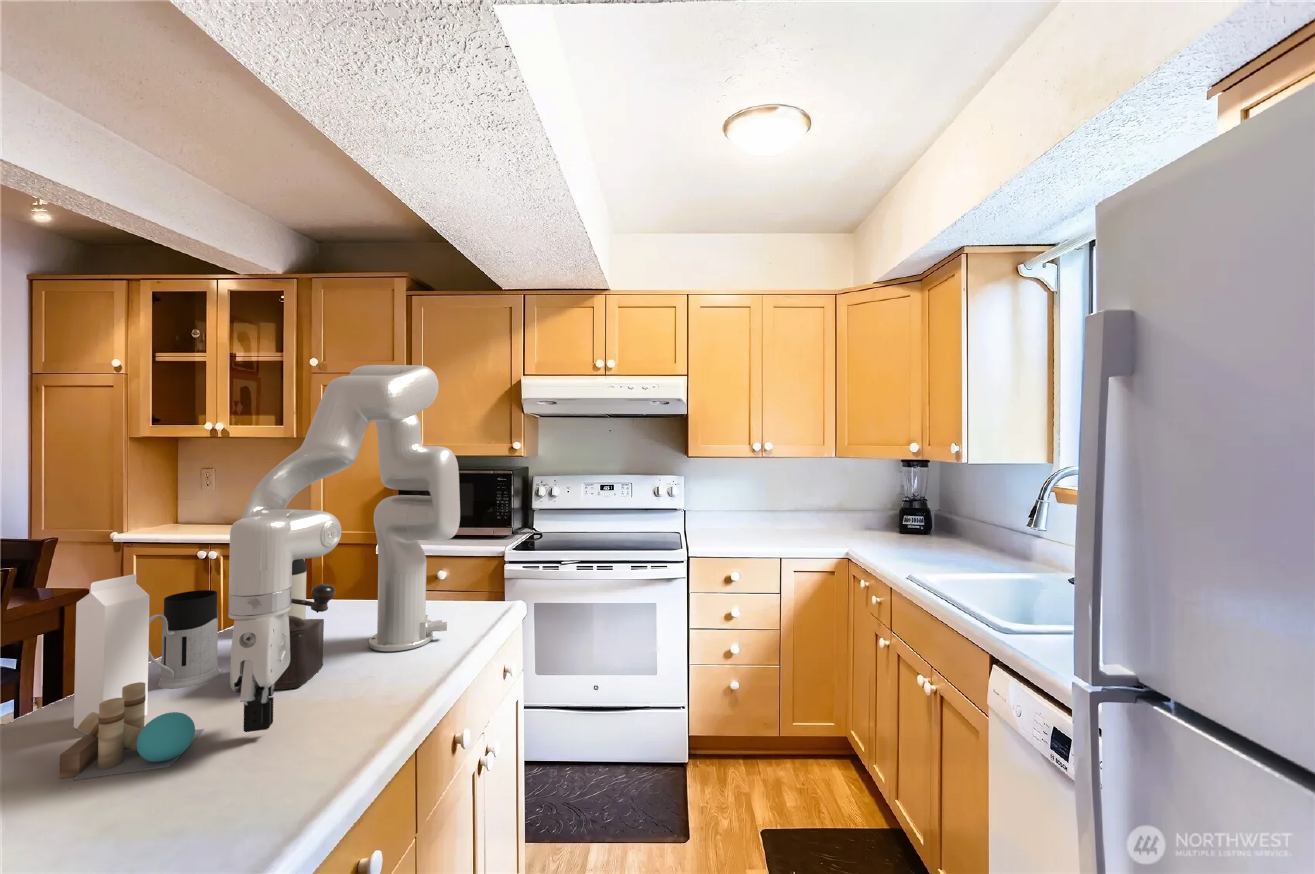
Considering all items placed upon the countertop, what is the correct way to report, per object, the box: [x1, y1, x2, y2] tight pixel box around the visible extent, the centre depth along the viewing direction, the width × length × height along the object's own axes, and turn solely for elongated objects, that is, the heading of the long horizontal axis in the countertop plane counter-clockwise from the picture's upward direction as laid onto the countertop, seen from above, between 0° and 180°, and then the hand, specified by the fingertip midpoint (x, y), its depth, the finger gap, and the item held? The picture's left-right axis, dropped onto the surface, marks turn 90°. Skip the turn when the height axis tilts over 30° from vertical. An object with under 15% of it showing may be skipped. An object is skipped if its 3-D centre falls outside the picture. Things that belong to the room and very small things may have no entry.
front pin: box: [76, 712, 142, 752], centre depth 77 cm, size 2×2×8 cm
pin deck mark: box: [73, 728, 205, 781], centre depth 78 cm, size 10×10×1 cm
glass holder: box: [148, 589, 221, 690], centre depth 100 cm, size 9×14×15 cm, turn 2°
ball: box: [137, 711, 196, 762], centre depth 77 cm, size 6×6×6 cm
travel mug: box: [288, 559, 307, 619], centre depth 128 cm, size 8×8×18 cm
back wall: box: [58, 733, 98, 779], centre depth 77 cm, size 2×9×3 cm, turn 18°
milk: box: [73, 573, 150, 730], centre depth 87 cm, size 6×6×22 cm
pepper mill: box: [235, 582, 336, 693], centre depth 103 cm, size 16×11×18 cm
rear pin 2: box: [122, 682, 146, 750], centre depth 80 cm, size 2×2×8 cm
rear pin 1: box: [98, 698, 125, 770], centre depth 75 cm, size 2×2×8 cm
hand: (258, 727), depth 82 cm, fingers closed
